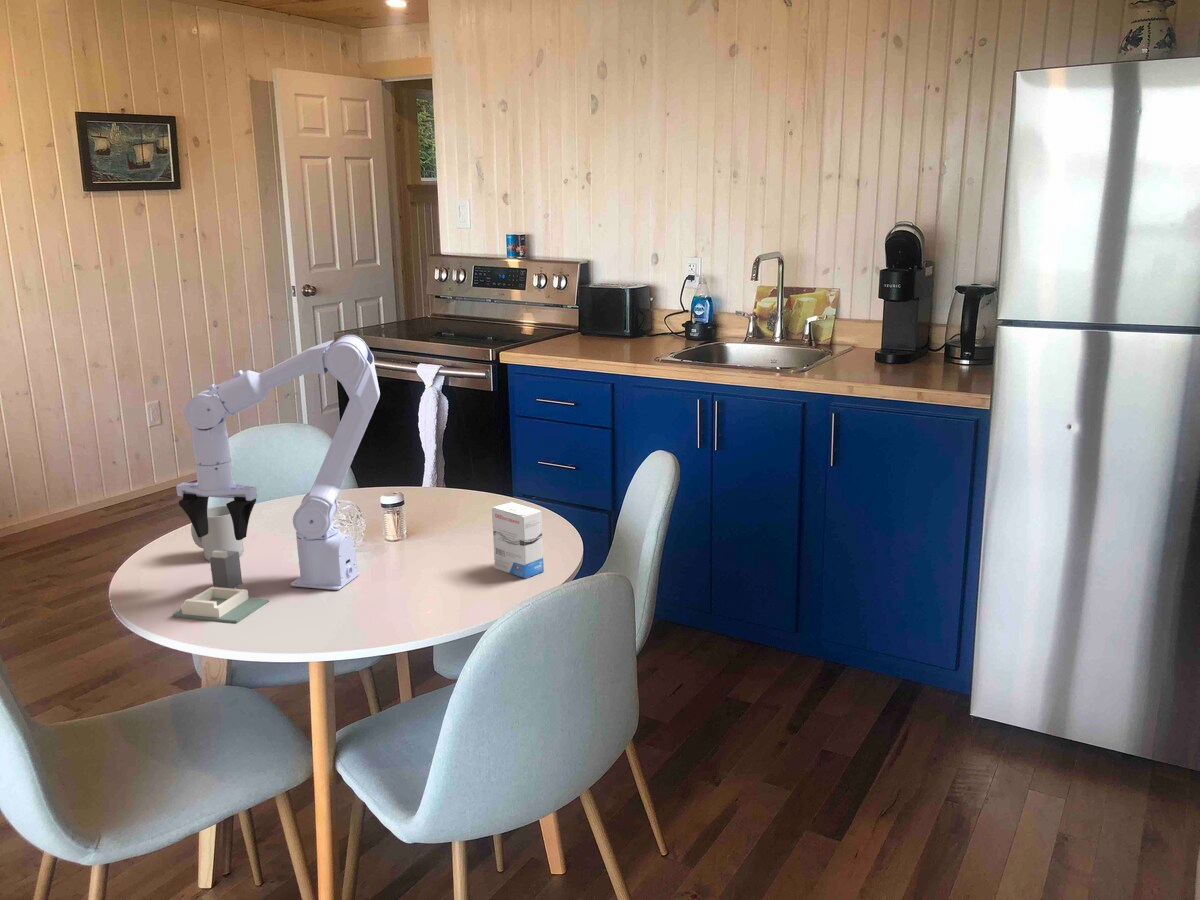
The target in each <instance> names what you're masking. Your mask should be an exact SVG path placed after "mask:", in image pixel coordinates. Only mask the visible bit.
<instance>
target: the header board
mask: <svg viewBox="0 0 1200 900" xmlns="http://www.w3.org/2000/svg"><path fill="white" fill-rule="evenodd" d="M267 603H269V599H268V598H259V597H249V591H248V589H242V588H241V589H240V588H234V589H232V588H220V587H213V586H211V587H209V588H207V589H206V590H204V591H202V592H200V593H197V594H196V595H193V596H192V597H190V598H187V599H185V600H184V602H183V603H182V604H180V607H181V609H179V610H177V611H176V612H174V613H172V615H171V616H172V618H182V619H189V620H190V619H191V620H200V621H201V620H202V621H203V620H204V621H212V622H213V621H214V622H220V623H221V622H223V623H225V622H226V623H231V624H232V623H233V624H238V623H239V622H240V621H242V620H244V619H245V618H246V617H248V616H250V615H251V614H253V613H254V612H256V610H258V609H260V608H261V607H263V606H264V605H266V604H267Z"/></svg>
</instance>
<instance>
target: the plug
mask: <svg viewBox="0 0 1200 900" xmlns="http://www.w3.org/2000/svg"><path fill="white" fill-rule="evenodd" d="M212 556H213V557H211V558H210V561H209V564H210V570H211V579H212V587H220V588H232V589H237V587H239V586H240V585H242V584H243V578H242V577H243V576H242V569H241V561H240V557H239V551H225V550H224V551H216V550H215V551H213V552H212Z"/></svg>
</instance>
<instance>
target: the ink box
mask: <svg viewBox="0 0 1200 900" xmlns="http://www.w3.org/2000/svg"><path fill="white" fill-rule="evenodd" d="M491 516H492V517H491V518H492V521H491V522H492V534H493V536H492V537H493V555H494V556H493V557H494V558H493V560H494V569H496V570H498V571H503V572H505V573H508V574H510V575H514V576H517V577H520V578H522V579H529V578H530V577H533V576H536V575H538V574H540V573H543V572H544V570H545V569H544V548H543V547H544V545H543V544H544V542H543V522H542V518H543V517H542V510H539V509H536V508H533V507H529V506H526V505H522V504H518V503H517V502H513V501H512V502H508V503H504V504H500V505H496V506H493V507H491Z"/></svg>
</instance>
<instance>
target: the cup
mask: <svg viewBox="0 0 1200 900" xmlns="http://www.w3.org/2000/svg"><path fill="white" fill-rule="evenodd" d="M207 517H208V527H209V530H208V534H207V535H205V536H203V537H198V536H197V533H196V531H195V529H194V526H193V524H192V523H191V524H190V525H191V527H190V532H191V533H190V534H191V537H192V538H191V539H192V540H193V542H194V544H195V545H196V546H197V547H199V548H201V549H203V550H202V551H203V555H204V559H206V560H207V561H209V562H210V558H211V557H213V556H212V552H213V551H215V550H216V551H224V550H225V551H239V558H241V556H243V554H244V551H245V547H244V538H243V539H241V540H236V538H235V534H234V527H233V521H232V518H231V515H230V512H229V510H228V508H227V506H226V505H218V506H212V507H209V508H208V507H207Z"/></svg>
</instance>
